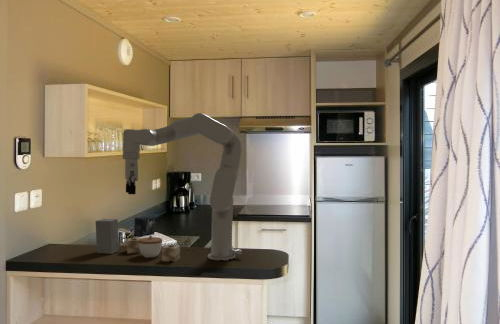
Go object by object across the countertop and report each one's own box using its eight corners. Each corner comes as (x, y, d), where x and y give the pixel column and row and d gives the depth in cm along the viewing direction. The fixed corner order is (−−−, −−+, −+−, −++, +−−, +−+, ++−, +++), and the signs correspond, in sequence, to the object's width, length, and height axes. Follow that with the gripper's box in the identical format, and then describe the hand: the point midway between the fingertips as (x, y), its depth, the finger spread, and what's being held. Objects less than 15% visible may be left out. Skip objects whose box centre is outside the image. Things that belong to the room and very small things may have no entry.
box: (141, 236, 235) (141, 218, 235) (133, 235, 238) (133, 217, 238) (155, 234, 244) (155, 216, 244) (147, 232, 247) (147, 215, 247)
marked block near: (179, 258, 186) (180, 245, 186) (174, 262, 180) (175, 247, 180) (167, 258, 187) (167, 244, 187) (161, 261, 181) (162, 247, 181)
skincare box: (119, 251, 198) (119, 218, 198) (110, 254, 191) (110, 220, 191) (103, 250, 200) (104, 217, 200) (94, 253, 193) (95, 219, 193)
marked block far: (140, 250, 202) (140, 237, 202) (140, 253, 196) (140, 240, 196) (127, 250, 200) (128, 237, 200) (127, 253, 194) (127, 240, 194)
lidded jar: (150, 252, 197) (150, 232, 197) (166, 255, 192) (167, 235, 192) (133, 256, 188) (133, 236, 188) (150, 260, 182) (150, 239, 182)
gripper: (142, 156, 183) (141, 194, 183) (137, 156, 199) (136, 191, 199) (124, 156, 180) (123, 195, 180) (120, 156, 196) (120, 191, 196)
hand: (130, 193), depth 190 cm, fingers open, 9 cm apart
